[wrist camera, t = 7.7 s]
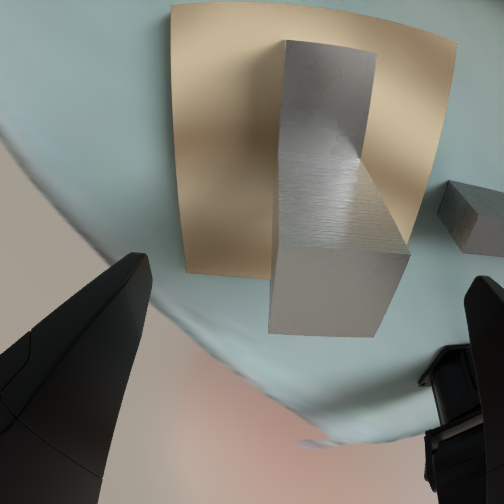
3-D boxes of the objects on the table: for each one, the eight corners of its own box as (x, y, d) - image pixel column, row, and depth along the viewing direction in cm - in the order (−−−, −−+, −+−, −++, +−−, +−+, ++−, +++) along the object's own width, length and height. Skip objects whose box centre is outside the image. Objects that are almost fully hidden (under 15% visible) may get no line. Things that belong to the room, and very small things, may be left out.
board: (385, 272, 19) (390, 286, 18) (190, 259, 19) (186, 272, 18) (445, 40, 10) (457, 42, 9) (179, 7, 11) (170, 5, 10)
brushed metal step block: (336, 197, 15) (373, 337, 8) (273, 192, 15) (268, 333, 9) (359, 49, 10) (461, 78, 4) (284, 39, 10) (297, 41, 4)
